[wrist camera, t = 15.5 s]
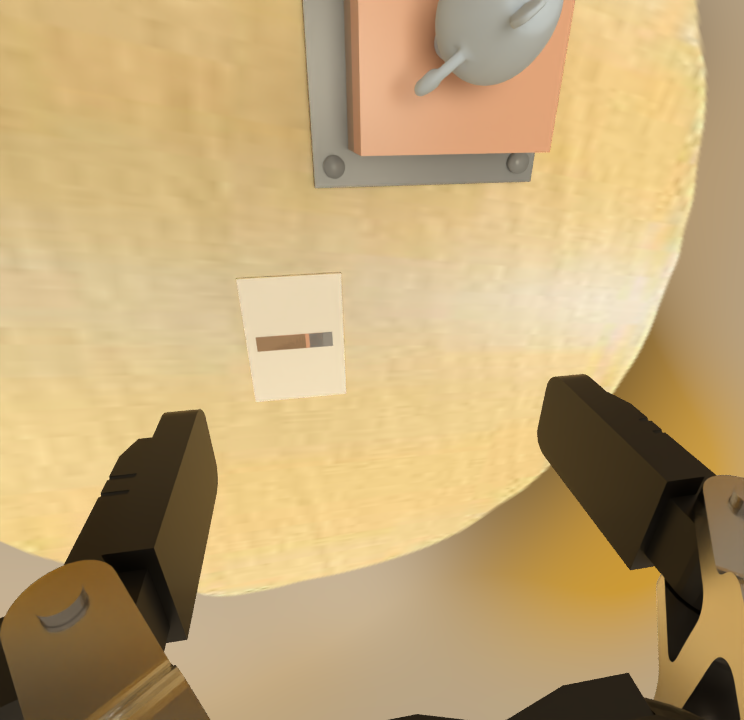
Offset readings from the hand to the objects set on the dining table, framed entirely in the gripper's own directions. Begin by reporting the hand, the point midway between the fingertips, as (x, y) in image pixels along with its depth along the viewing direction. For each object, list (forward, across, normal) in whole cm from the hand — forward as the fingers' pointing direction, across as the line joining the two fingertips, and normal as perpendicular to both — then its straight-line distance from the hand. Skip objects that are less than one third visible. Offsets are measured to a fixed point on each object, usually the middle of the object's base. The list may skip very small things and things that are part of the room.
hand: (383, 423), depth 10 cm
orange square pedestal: (+34, -10, -11) cm, 37 cm away
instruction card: (+34, +3, +14) cm, 37 cm away
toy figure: (+25, -10, -11) cm, 29 cm away
